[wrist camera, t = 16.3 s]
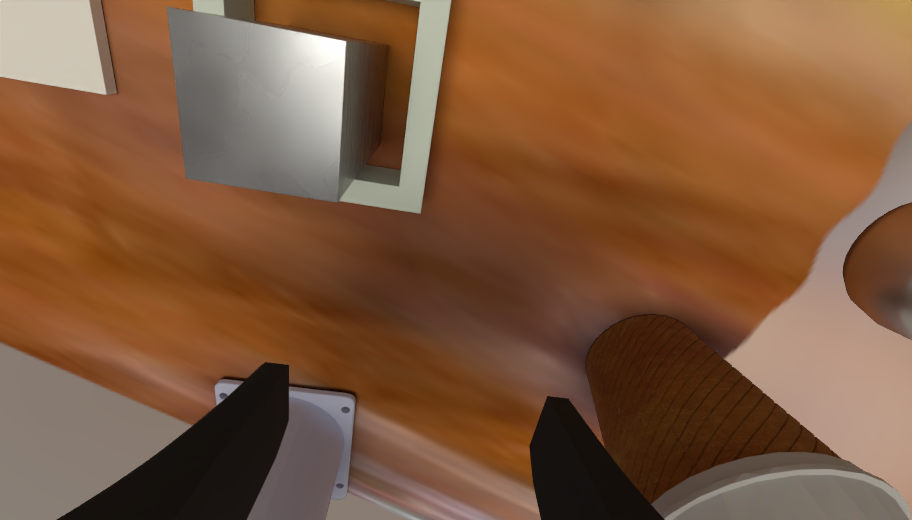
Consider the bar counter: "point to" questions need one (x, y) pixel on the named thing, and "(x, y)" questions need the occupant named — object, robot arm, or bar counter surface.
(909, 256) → the plastic bottle
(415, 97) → the frame
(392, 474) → the bar counter surface
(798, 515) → the disposable coffee cup
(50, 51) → the pad
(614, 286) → the bar counter surface
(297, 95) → the pin block
